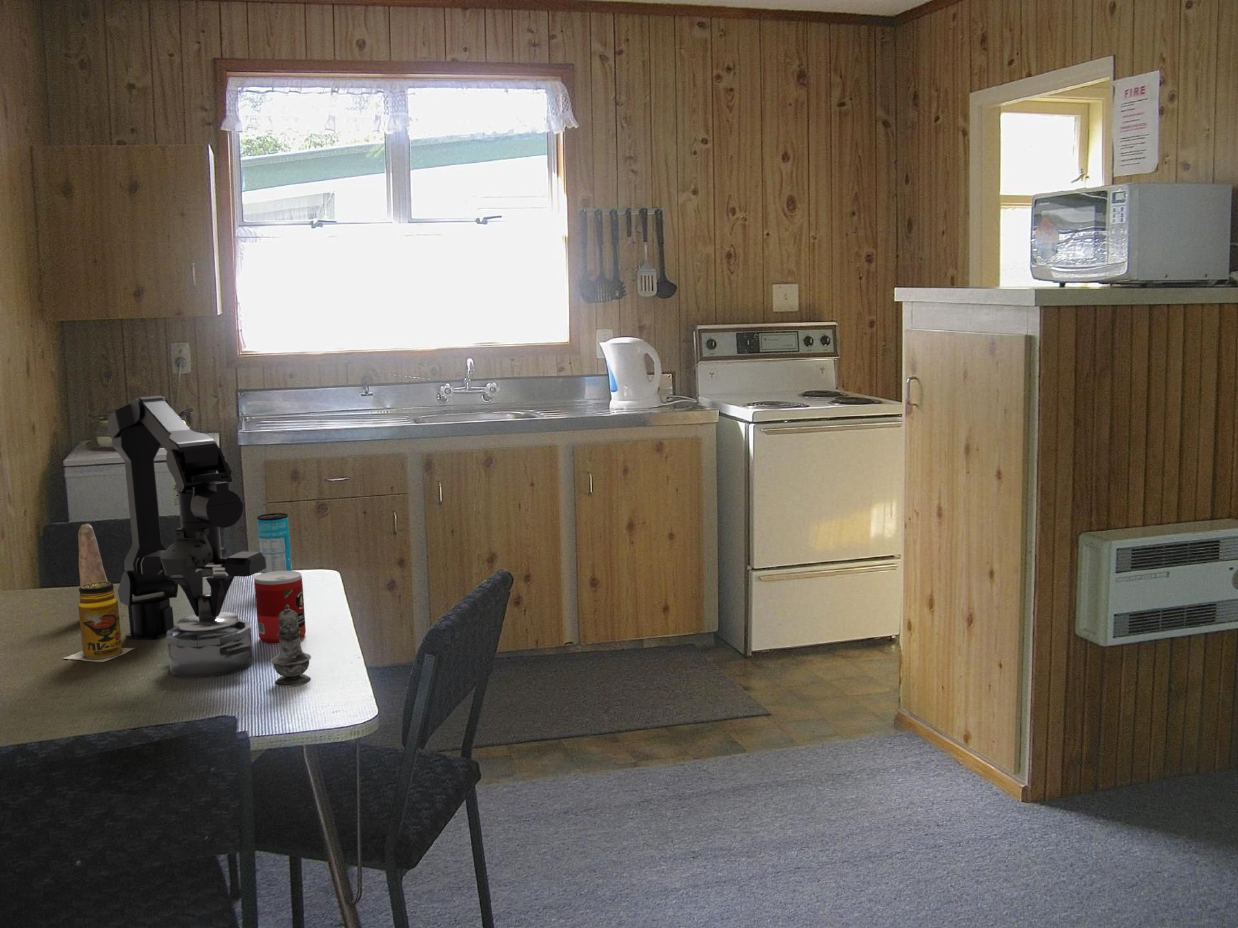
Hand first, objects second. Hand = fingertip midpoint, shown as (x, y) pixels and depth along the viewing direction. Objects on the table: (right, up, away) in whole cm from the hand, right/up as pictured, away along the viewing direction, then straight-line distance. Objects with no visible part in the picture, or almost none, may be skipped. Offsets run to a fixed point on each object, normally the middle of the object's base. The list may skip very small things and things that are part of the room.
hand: (207, 616), depth 195 cm
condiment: (-21, -8, +10) cm, 25 cm away
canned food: (+8, -6, +16) cm, 18 cm away
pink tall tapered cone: (-31, -5, +34) cm, 47 cm away
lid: (0, -1, 0) cm, 1 cm away
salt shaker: (+16, -9, -8) cm, 20 cm away
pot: (0, -8, +1) cm, 8 cm away
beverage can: (-3, -1, +51) cm, 52 cm away
